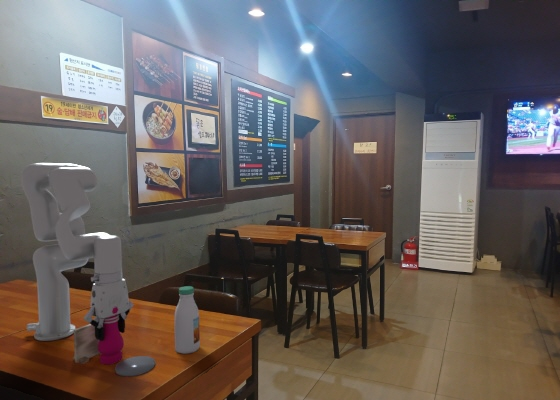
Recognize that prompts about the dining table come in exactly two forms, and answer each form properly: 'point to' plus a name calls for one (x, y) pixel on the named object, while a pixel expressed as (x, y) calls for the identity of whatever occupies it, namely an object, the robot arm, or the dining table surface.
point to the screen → (85, 343)
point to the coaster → (135, 366)
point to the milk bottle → (186, 322)
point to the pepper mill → (111, 340)
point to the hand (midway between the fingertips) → (110, 335)
